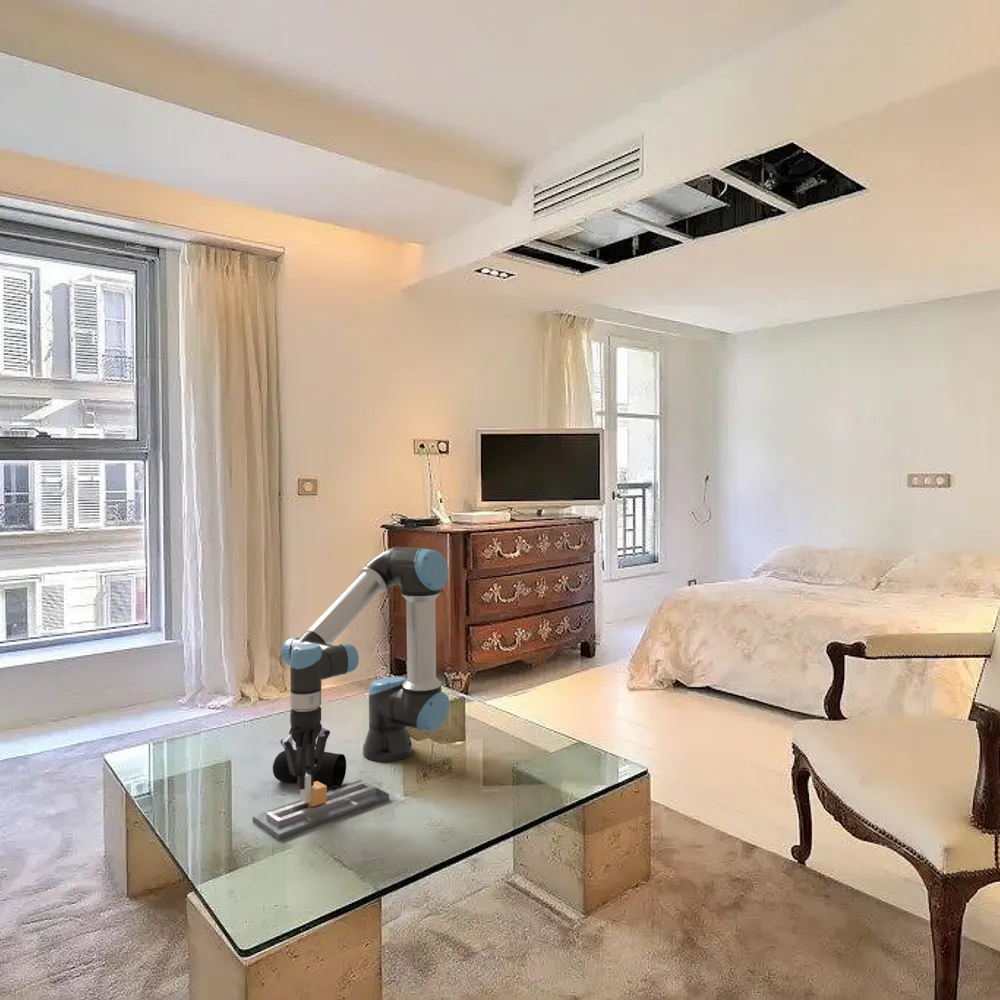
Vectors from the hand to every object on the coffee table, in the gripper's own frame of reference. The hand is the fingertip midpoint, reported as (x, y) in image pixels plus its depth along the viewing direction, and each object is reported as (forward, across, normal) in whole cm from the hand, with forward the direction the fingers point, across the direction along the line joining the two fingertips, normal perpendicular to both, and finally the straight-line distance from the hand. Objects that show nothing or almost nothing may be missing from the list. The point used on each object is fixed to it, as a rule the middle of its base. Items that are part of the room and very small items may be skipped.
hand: (305, 800), depth 185 cm
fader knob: (+2, +3, 0) cm, 4 cm away
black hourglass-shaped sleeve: (+5, +11, +17) cm, 21 cm away
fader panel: (+4, +5, 0) cm, 7 cm away
